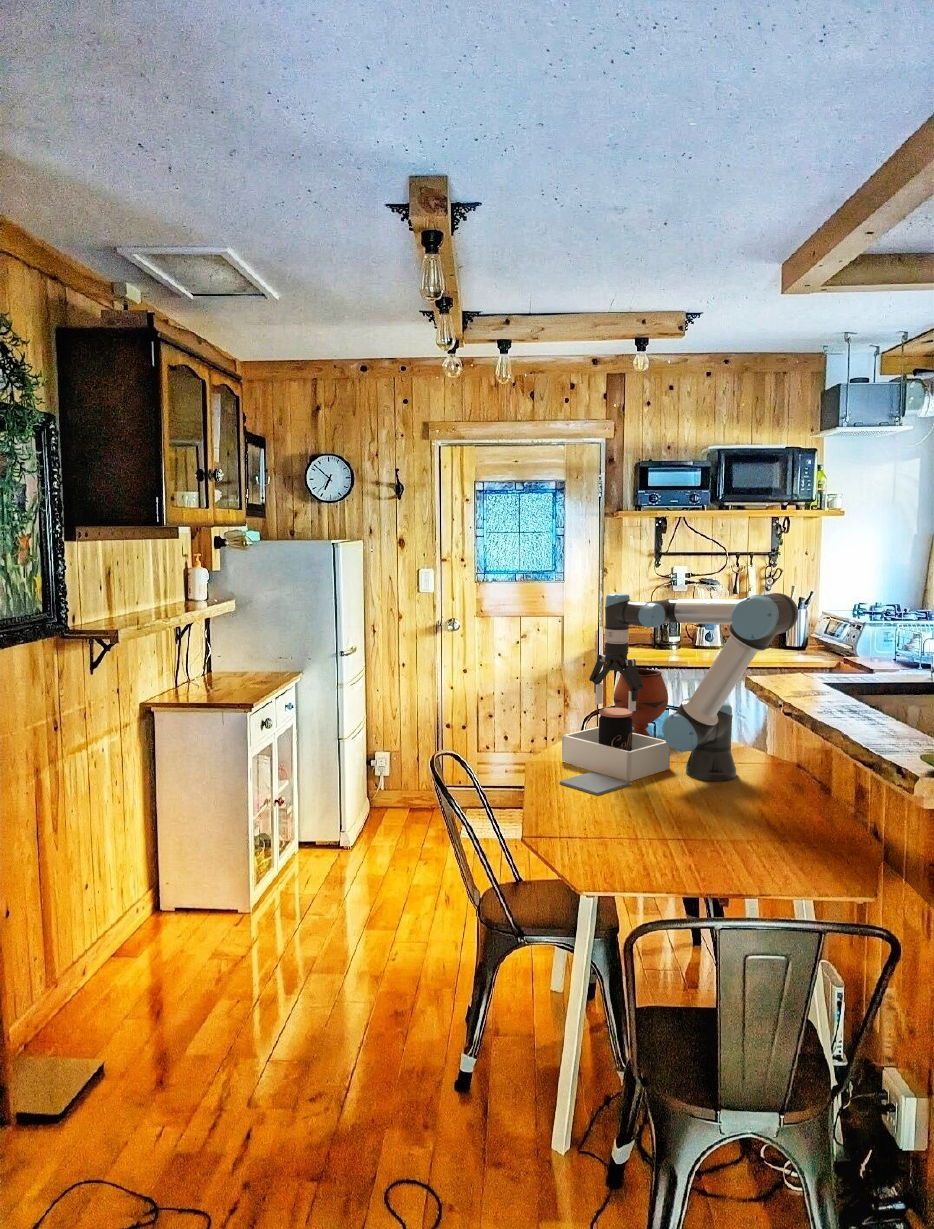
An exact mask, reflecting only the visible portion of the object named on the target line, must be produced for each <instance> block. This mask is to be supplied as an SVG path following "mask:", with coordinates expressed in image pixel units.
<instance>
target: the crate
mask: <svg viewBox="0 0 934 1229" xmlns="http://www.w3.org/2000/svg"><path fill="white" fill-rule="evenodd" d="M670 757H671V747H670V746H669V745H668V744H667V742H666V741H665V739H663V738H662V739H660V738H656V737H652V736H651V737H649V736H644V735H640V734H636V733H632V751H626V750H622V749H618V748H614V747H610V746H606V745H602V744H599V726H597V727H592V728H587V729H584V730H578V731H575V732H571V733H567V734H563V735H562V736H561V762H562V761H565V762H567V763H569V764H568V765H570V764H572V765H571V766H573V765H574V767H577V768H581V769H584V770H587V771H590V772H596V773H599V774H603V775H606V776H610V777H613V778H617V779H620V780H624V781H627V782H633V781H634V780H635V781H636V780H639V779H641V778H645V777H648V776H652V775H654V774H659V773H661V772H664V771H668V770H670V768H671V767H670V764H671V762H670V760H671V758H670Z"/></svg>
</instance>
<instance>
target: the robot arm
mask: <svg viewBox="0 0 934 1229" xmlns="http://www.w3.org/2000/svg"><path fill="white" fill-rule="evenodd" d="M798 609H799V608H798V605H797V604H796V602H795V601H794V600H793V598H792V597H790V596H788V595H787V594H785V593H779V592H773V593H766V594H754V595H751V596H747V597H745V598H732V599H731V598H722V599H721V598H719V599H718V598H713V599H711V598H710V599H706V598H703V599H701V598H700V599H699V598H697V599H696V598H694V599H693V598H692V599H689V598H688V599H687V598H686V599H683V598H681V599H678V598H666V599H660V600H652V601H651V600H650V601H632V600H631V599H630V595H629V594H628V593H623V592H622V593H621V592H619V593H618V592H616V593H615V592H614V593H608V594H607V595H606V597H605V607H604V617H605V620H604V621H605V623H604V641H605V642H604V652H603V653H601V654H597V658H596V663H595V665H594V666H593V669H592V671H591V674H590V677H589V679H588V680H589V681H590V682H593V685H594V686H593V689H594V690H593V692H594V694H595V705H603V704H604V703H603V701H604V700H603V699H604V698H603V696H604V683H603V680H604V679H605V678H606V677H607V676H608V674H609V673H610V672H613V671H614V672H617V673H618V672H619V674H620V675H621V674H622V676H623V677H624V679H625V681H626V682H627V684H628V686H629V688H630V689H631V690H630V691H629V701H628V711H629V712H631V711H636V701H637V700H638V690H641V689H643V685H642V682H641V679H640V676H639V673H638V670H637V669H638V668H637V662H636V659H635V658H633V659H629V658H628V655H629V642H628V641H629V638H630V631H629V630H630V626H636V627H645V628H648V629H650V628H659V627H660V626H661V625H664V624H699V625H700V624H701V625H703V624H705V625H706V624H708V625H713V624H714V625H729V627H728V633H729V637H728V639H727V640H726V642H725V643H724V645H723V646H722V648H721V649H720V652H719V653H718V655H716V658H715V660H714V661H713V662H712V664H711V666H710V667H709V669H708V670H707V672H706V674H704V677H703V679H702V680H701V682H700V683H699V685H698V686H697V688H696V690H695V691H694V692H693V694H692V696H691V697H690V698H689V697H688V698H685V699H684V700H682V701H681V704H680V705H679V706H678V708H677V710H676V712H675V713H671V714H670V715H668V716H667V717H665V719H664V721H663V723H662V726H661V728H662V729H661V731H662V734H663V738H664V739H663V740H665V741H666V742H667V744H668V745H669V746H670V749H672V750H674V751H676V752H679V753H687V752H690V753H689V754H690V755H689V758H688V759H687V763H686V765H685V766H686V767H685V773H686V775H687V776H689V777H691V778H694V779H698V780H702V781H710V782H711V781H713V782H724V781H730V780H734V779H736V777H737V766H736V763H735V760H734V757H733V753H732V736H733V735H732V731H733V728H732V727H733V718H734V717H733V716H734V715H733V708H732V706H731V705H730V704H729V703H727V702H726V700H727V699H728V697H729V696H730V695H731V693H732V692H733V690H734V688H735V687H736V685H737V684H738V682H739V681H740V679H741V678H742V676H743V675H744V674H745V671H746V670H747V668H748V667H749V666H750V664H751V662H752V661H753V659H754V658H755V656H756V654H757V653H758V652H763V651H766V650H767V648H768V647H769V645H770V643H771V642H772V641H773V639H774V638H775V636H777V635H781V634H783V633H787V632H788V631H790V630H791V629H793V628H794V626H795V625H796V624H797V622H798V619H799V610H798ZM604 663H605V664H604Z"/></svg>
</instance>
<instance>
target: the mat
mask: <svg viewBox="0 0 934 1229" xmlns="http://www.w3.org/2000/svg"><path fill="white" fill-rule="evenodd" d="M631 782H632V781H626V780H622V779H619V778H615V777H612V776H608V775H605V774H601V773H598V772H594V771H589V772H586V773H583V774H580V775H576V776H573V777H569V778H565V779H562V780H559V784H560V785H562V786H565V787H569V788H572V789H575V790H578V791H581V792H585V793H587V794H592V795H595V796H600V795H604V794H607V793H610V792H613V791H616V790H620V789H623V788H626V787H630V786H631Z"/></svg>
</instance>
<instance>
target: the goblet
mask: <svg viewBox="0 0 934 1229" xmlns="http://www.w3.org/2000/svg"><path fill="white" fill-rule="evenodd" d="M637 670H638V673H639V676H640V679H641V682H642V685H643V689H641V690H638V700H637V701H636V711H632V712H633V713H632V716H631V718H632V733H636V734H640V735H644V736H649V737H652V736H651V734H650V732H648V730H647V728H648V727H649V724H651V723H654V721H656V720H658V719H659V718H660V717H661V716H662V715H663V713H664V712H665V710H666V709H667V707H668V705H669V693H668V689H667V687H666V684H665V681H664V678H663V676H662V674H663V673H662V671H660V670H657V669H649V668H648V669H647V668H637ZM630 690H631V689H630V688H629V686H628V684H627V682H626V681H625V679H624V677H623V676H622V674H620V676H619V678H618V680H617V683H616V685H615V689H614V692H613V704H614V706H615V708H625V709H628V701H629V691H630Z"/></svg>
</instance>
